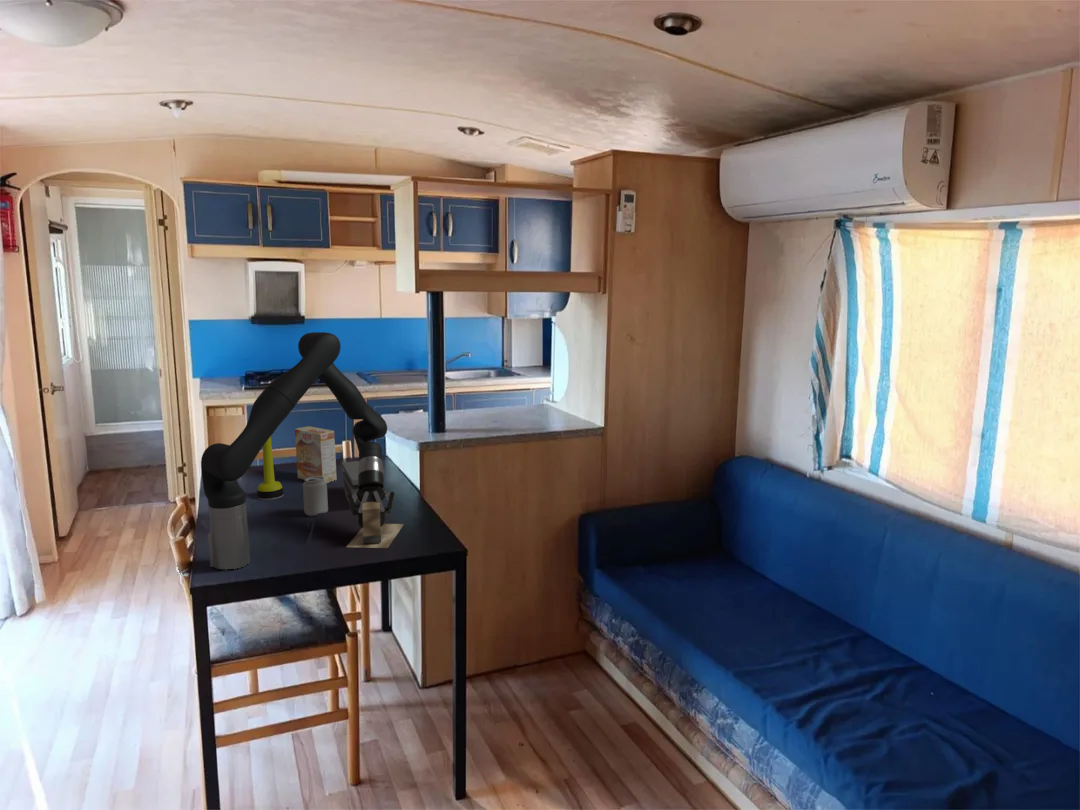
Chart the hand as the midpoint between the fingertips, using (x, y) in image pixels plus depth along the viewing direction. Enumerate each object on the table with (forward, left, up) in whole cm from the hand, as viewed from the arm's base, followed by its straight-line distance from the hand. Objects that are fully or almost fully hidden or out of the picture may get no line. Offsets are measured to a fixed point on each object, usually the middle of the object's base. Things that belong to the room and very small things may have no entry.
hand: (371, 526), depth 212 cm
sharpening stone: (-16, +42, -6) cm, 46 cm away
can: (-26, +27, -6) cm, 38 cm away
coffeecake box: (-40, +67, -6) cm, 78 cm away
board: (0, +5, -6) cm, 8 cm away
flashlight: (-49, +45, -6) cm, 67 cm away
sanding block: (0, +2, -4) cm, 5 cm away
